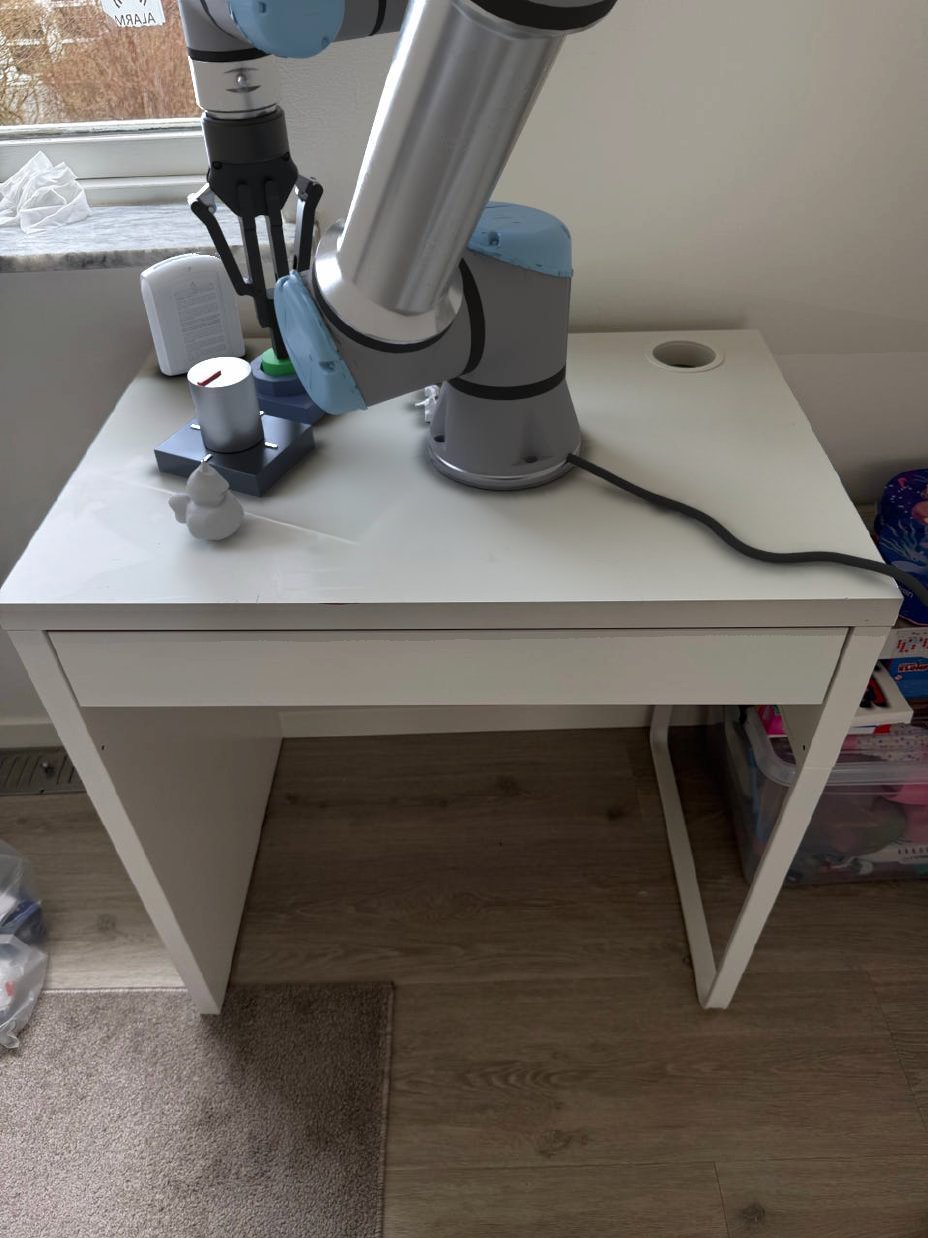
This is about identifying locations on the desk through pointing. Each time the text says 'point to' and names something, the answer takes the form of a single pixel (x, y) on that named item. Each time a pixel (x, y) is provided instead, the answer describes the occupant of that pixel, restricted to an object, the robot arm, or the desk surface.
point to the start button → (276, 364)
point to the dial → (226, 404)
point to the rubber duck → (207, 505)
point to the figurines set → (429, 401)
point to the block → (284, 396)
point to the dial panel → (239, 455)
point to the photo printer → (191, 312)
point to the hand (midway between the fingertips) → (282, 352)
